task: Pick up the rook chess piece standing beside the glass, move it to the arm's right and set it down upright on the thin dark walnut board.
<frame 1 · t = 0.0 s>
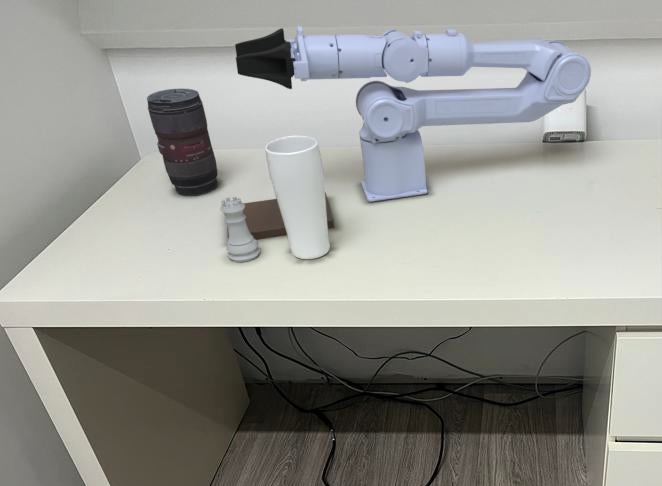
hand: (236, 58, 102), 22 cm above the table, tool horizontal, fingers open, 7 cm apart
rook chess piece: (244, 256, 103), on the table
camera lens: (198, 189, 123), on the table
drinking glass: (311, 253, 103), on the table
walnut board: (280, 220, 111), on the table
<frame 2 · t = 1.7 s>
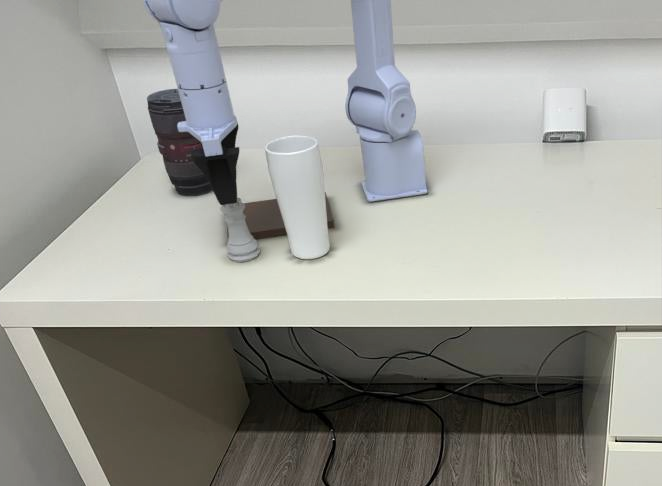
hand: (228, 191, 97), 9 cm above the table, tool pointing down, fingers open, 7 cm apart
nothing on the table moved.
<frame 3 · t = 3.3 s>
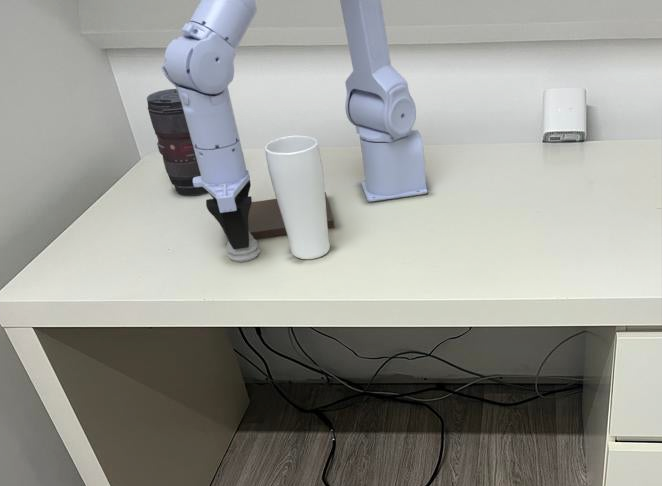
hand: (240, 240, 101), 2 cm above the table, tool pointing down, fingers closed on rook chess piece, 3 cm apart
rook chess piece: (244, 256, 103), on the table, touching gripper
everything else where it was.
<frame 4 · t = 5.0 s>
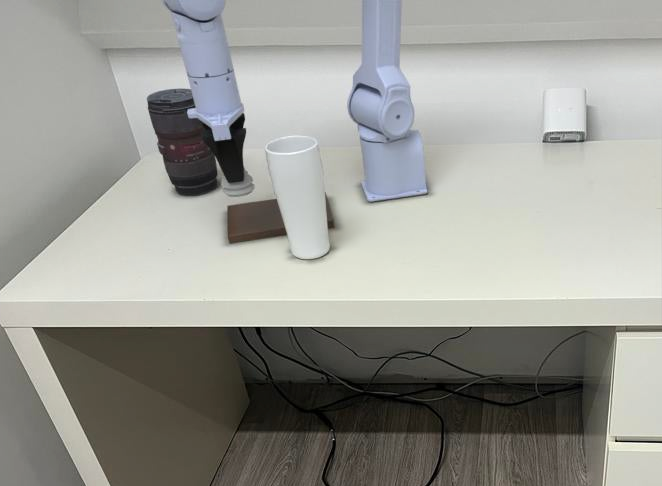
hand: (235, 176, 102), 9 cm above the table, tool pointing down, fingers closed on rook chess piece, 3 cm apart
rook chess piece: (239, 192, 103), point 7 cm above the table, touching gripper
everything else where it was.
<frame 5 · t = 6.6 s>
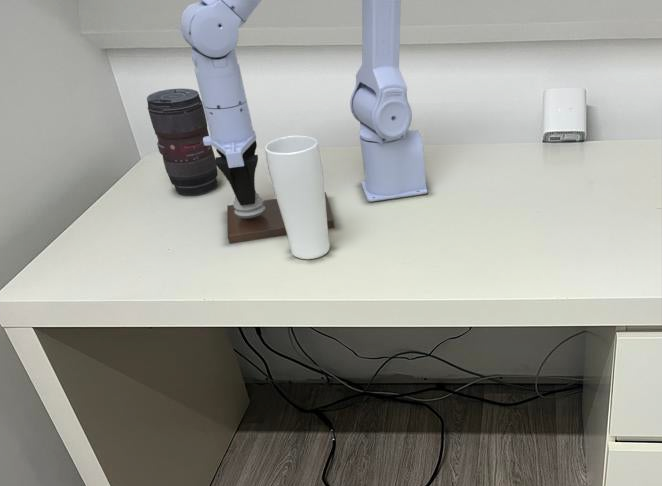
hand: (247, 198, 108), 4 cm above the table, tool pointing down, fingers closed on rook chess piece, 3 cm apart
rook chess piece: (250, 213, 110), point 2 cm above the table, touching gripper
everything else where it was.
when the fingers open (3 cm above the table, at t = 7.1 s): rook chess piece stays where it is, resting on walnut board.
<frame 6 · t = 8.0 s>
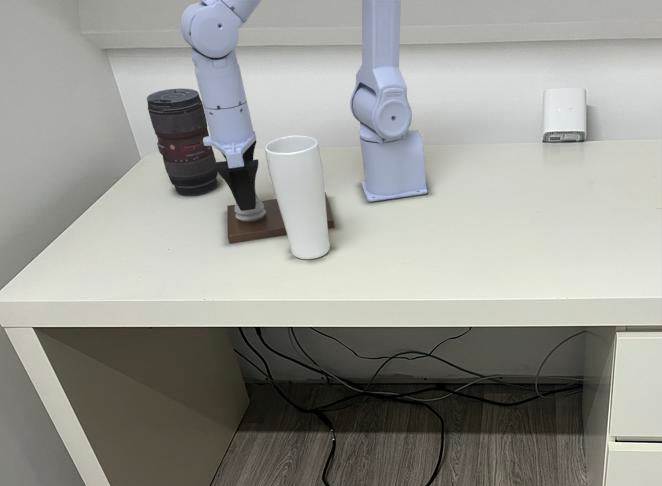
hand: (247, 198, 108), 4 cm above the table, tool pointing down, fingers open, 7 cm apart
rook chess piece: (251, 217, 110), point 1 cm above the table, touching walnut board
everything else where it was.
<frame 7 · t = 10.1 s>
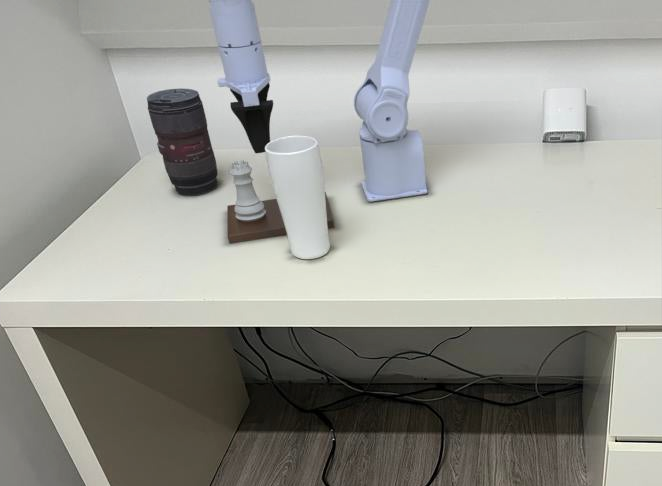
hand: (261, 143, 108), 10 cm above the table, tool pointing down, fingers open, 7 cm apart
nothing on the table moved.
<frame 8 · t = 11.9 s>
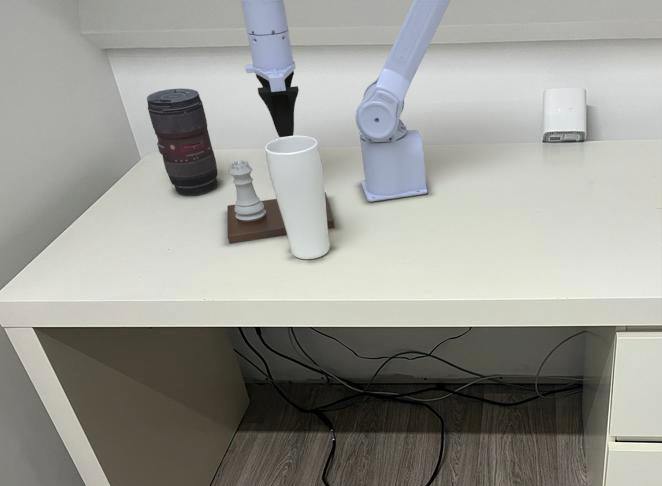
hand: (284, 127, 113), 10 cm above the table, tool pointing down, fingers open, 7 cm apart
nothing on the table moved.
at the end: rook chess piece inside the target area on the walnut board (4.0 cm from its centre), point 1.0 cm above the walnut board's base; rook chess piece tilted 0°; the gripper is holding nothing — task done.
